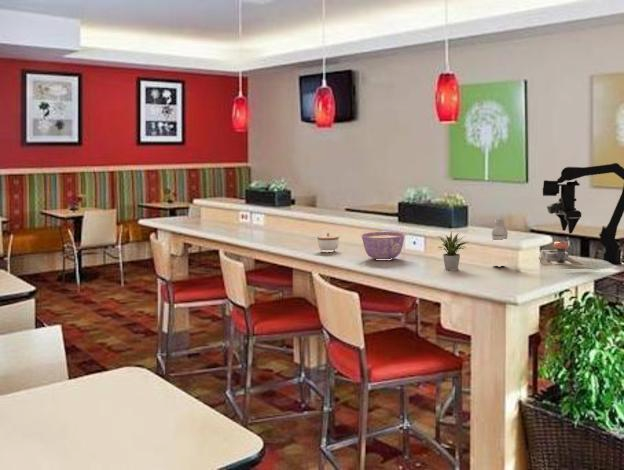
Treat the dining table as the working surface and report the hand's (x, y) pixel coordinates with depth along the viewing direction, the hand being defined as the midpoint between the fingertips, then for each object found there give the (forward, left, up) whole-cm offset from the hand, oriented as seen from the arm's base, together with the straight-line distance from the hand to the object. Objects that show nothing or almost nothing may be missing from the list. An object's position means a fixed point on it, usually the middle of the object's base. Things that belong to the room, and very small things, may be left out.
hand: (567, 232), depth 302 cm
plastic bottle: (+31, +10, -13) cm, 35 cm away
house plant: (+52, +14, -13) cm, 56 cm away
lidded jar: (+105, -39, -13) cm, 113 cm away
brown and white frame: (+6, +7, -13) cm, 16 cm away
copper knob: (+6, +12, -11) cm, 17 cm away
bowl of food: (+79, -14, -13) cm, 81 cm away
